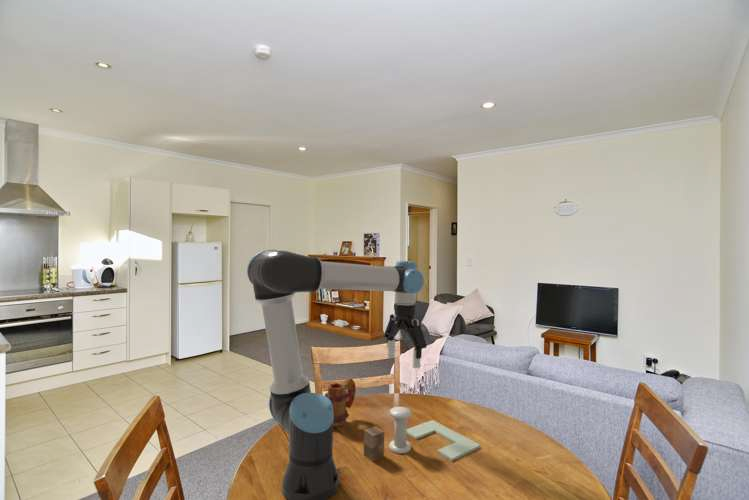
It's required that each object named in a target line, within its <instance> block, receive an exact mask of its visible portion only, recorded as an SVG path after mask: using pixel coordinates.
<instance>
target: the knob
mask: <svg viewBox="0 0 749 500" xmlns="http://www.w3.org/2000/svg"><path fill="white" fill-rule="evenodd" d="M389 415H390V417H391V418H394V425H393V426H394V429H393V430H394V431H393V432H394V433H393V436H394V437H393V440H392V441H389V444H388V445H389V446H388V447H389V450H390V451H391V452H392V453H395V454H398V455H399V454H403V455H405V454H407V453H409V452H410V451H411V450H412V444H411V442H410V441H408V440H407V437H408V436H407V435H408V434H407V429H408V427H407V426H408V419H409V418H411V417H412V415H413V414H412V409H410V408H408V407H405V406H395V407H392V408H391V409H390V410H389Z"/></svg>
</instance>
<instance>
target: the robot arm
mask: <svg viewBox="0 0 749 500" xmlns="http://www.w3.org/2000/svg"><path fill="white" fill-rule="evenodd" d="M417 266H418V265H417V263H416V262H415V261H411V260H398V261H396V263H395V265H394V266H389V265H388V266H387V265H385V266H383V265H381V266H379V265H368V264H358V263H346V262H335V261H323V260H321V259H320V258H319V257H317V256H316V257H315V256H308V255H303V254H300V253H296V252H292V251H288V250H276V249H266V250H262V251H259V252H258V253H255V254H254V255H253V256H252V257H251V258H250V260H249V262H248V264H247V269H246V270H247V271H246V273H247V278H248V280H249V281H250V283H251V284H252V286H253V293H254V299H255V301H257V302H258V303H259V304H261V308H262V315H263V320H264V321H263V322H264V325H265V326H264V327H265V333H266V339H267V345H268V352H269V358H270V363H271V365H270V366H271V369H272V370H271V371H272V377H273V382H272V383H271V384H270V386H269V392H270V395H269V397H268V398H269V399H268V408H269V412H270V414H271V417H272V418H273V420H274V421H276V423H277V424H279V426H280V427H281V428H282V429H283V431H284V432H285V433H286V435H287V436H288V437H289V442H288V443H289V445H288V446H289V447H288V449H289V453H288V455H289V456H288V462H287V464H286V467H285V471H284V473H283V476H282V482H281V492H282V494H283V497H285V499H287V500H329V499H330V498H331V497H333V496H334V495H335V493H336V492H337V491H338V488H339V472H338V470H337V467H336V464H335V460H334V457H333V456H334V455H333V450H334V448H333V447H334V446H333V445H334V426H333V420H334V412H333V405H332V402H331V401H330V400H329V399H328V398H327V397H326V396H325V394H321V393H320V394H318V393H316V392H311V384H310V379H309V378H308V376H307V375H305V374H304V373H303V365H302V360H301V354H300V346H299V340H298V339H299V338H298V334H297V333H298V332H297V326H296V321H295V314H294V307H293V301H292V299H293V297H294V296H295V294H296V293H316V292H318V291H319V290H323V289H324V290H347V291H348V290H351V291H376V292H393V293H394V302H395V304H394V314H389V319H388V323H387V325H386V329H385V331H384V333H383V337H384V338H385V339H386V340H387V346H386V347H387V359H394V358H395V352H396V351H395V350H396V340H395V338H396V336H397V335H398V333H399V331H400V330H403V331H405V332H406V333H408V335H409V338H410V340H411V342H412V344H413V346H414V348H413V349H412V350H413V351H412V352H413V353H412V368H413V369H417V368H420V367H421V359H422V355H423V354H422V350H423V349H426V348H428V347H427V343H426V339H425V336H424V333H423V330H422V326H421V324H422V323H421V322H422V321H421V319H415V318H414V316H415V315H416V306H417V305H416V303H417V302H416V301H417V299H416V298H417V293H419V292H420V291H421V290H422V289H423V287H424V283H425V282H424V281H425V280H424V279H425V277H424V275H423V274H422V272H421V271H420V270H418V268H417Z"/></svg>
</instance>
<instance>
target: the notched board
mask: <svg viewBox="0 0 749 500" xmlns="http://www.w3.org/2000/svg"><path fill="white" fill-rule="evenodd" d="M434 433H435V434H437V435H439V436H440V437H442V438H444V439H446V440H447V441H449V442H450V444H448V445H446V446H443V447H441V448H439V449H437V454H439V455H441V457H443V458H446V459H447V460H449V461H450V462H454V461H455V460H457V459H459V458H461V457H463V456H466V455H467V454H469V453H472V452H474V451H477V450H478V449H480V448H481V444H479V443H477V442H475V441H473V440H472V439H470V438H468V437H467V436H464V435H462V434H460V433H458V432H456V430H455V431H454V430H453V429H451V428H449V427H447V426H445V425H443V424H441V423H440V422H437V421H435V420H434V419H432V420H431V419H430V420H428V421H425V422H423V423H420V424H418V425H417V424H416V425H415V426H412V427H409V428H407V435H408V436H410V437H411V438H413V439H414V440H418V439H420V438H423V437H425V436H426V437H427V436H428V435H431V434H434Z"/></svg>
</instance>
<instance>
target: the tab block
mask: <svg viewBox="0 0 749 500" xmlns="http://www.w3.org/2000/svg"><path fill="white" fill-rule="evenodd" d="M363 431H364V432H363V456H364V457H365V458H366V459H368V460H369V461H370V462H371V463H373V462H376V461H378V460H381V459H384V457H385V431H384V430H382V429H381V428H380V427H378V426H376V425H375V426H372V427H369V428H366V429H364V430H363Z"/></svg>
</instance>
